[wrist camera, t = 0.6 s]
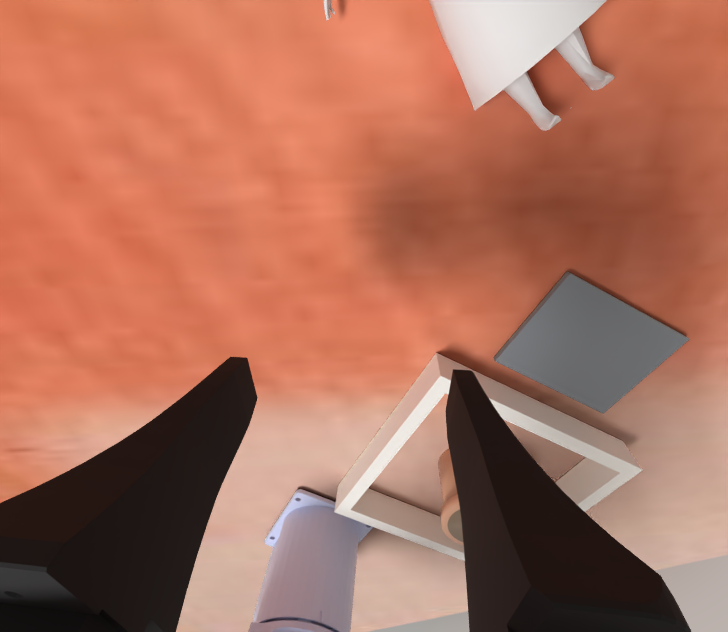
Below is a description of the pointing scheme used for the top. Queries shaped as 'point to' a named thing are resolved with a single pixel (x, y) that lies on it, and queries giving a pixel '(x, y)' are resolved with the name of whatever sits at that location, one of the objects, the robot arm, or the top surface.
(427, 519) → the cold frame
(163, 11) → the top surface
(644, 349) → the slate mat
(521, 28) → the woman figurine
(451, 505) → the terracotta pot
